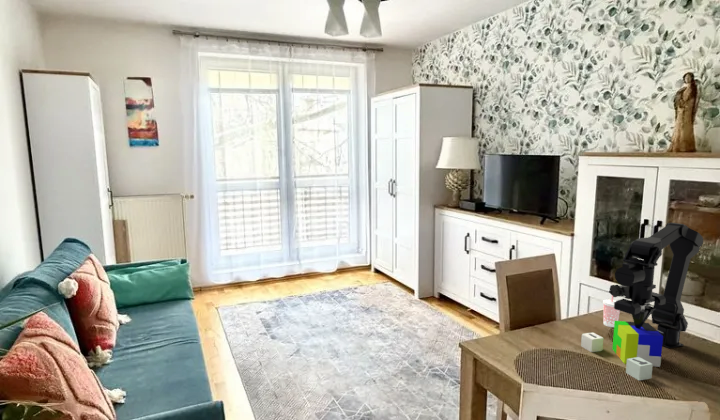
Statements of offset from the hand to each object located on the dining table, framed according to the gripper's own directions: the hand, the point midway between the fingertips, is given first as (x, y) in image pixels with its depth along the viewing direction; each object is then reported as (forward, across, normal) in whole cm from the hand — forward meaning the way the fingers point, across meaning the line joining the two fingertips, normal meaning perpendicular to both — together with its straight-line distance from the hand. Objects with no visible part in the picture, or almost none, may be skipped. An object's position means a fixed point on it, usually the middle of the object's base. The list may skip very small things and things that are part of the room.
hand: (637, 328), depth 136 cm
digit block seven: (+10, +11, +6) cm, 16 cm away
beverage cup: (+10, -18, -19) cm, 28 cm away
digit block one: (+10, +6, -11) cm, 16 cm away
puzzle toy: (+10, 0, 0) cm, 10 cm away
